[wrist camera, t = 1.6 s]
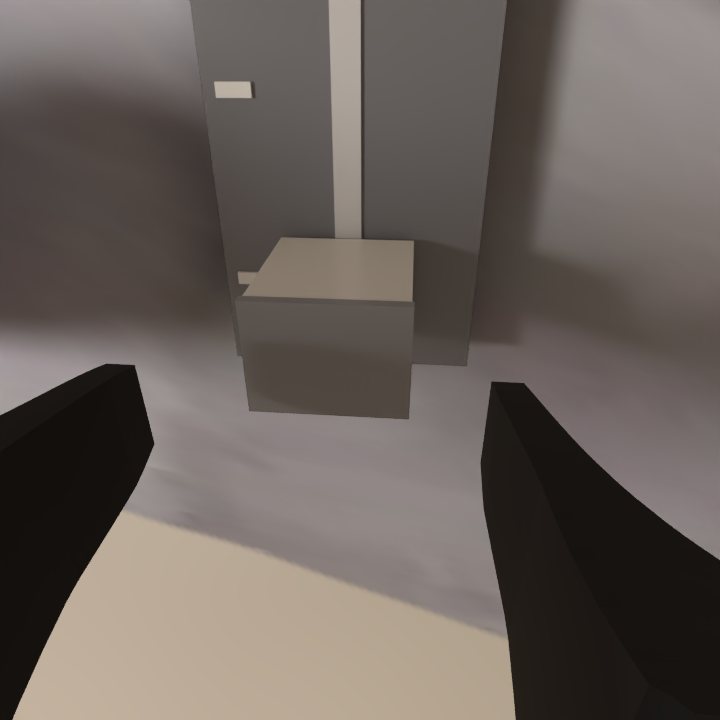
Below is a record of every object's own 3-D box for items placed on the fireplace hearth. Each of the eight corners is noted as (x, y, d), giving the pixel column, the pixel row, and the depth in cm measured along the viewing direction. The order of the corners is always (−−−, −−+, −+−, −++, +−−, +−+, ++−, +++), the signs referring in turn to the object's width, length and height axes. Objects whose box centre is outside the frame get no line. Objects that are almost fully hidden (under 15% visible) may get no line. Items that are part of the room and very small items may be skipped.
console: (462, 338, 21) (466, 367, 19) (252, 330, 21) (237, 357, 19) (558, -596, 10) (587, -726, 9) (149, -557, 11) (98, -670, 9)
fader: (411, 332, 18) (409, 419, 14) (286, 326, 18) (249, 410, 14) (415, 239, 16) (414, 307, 12) (279, 235, 17) (234, 301, 13)
